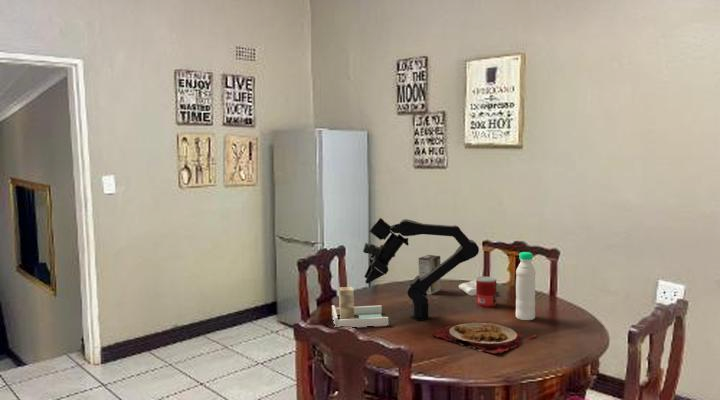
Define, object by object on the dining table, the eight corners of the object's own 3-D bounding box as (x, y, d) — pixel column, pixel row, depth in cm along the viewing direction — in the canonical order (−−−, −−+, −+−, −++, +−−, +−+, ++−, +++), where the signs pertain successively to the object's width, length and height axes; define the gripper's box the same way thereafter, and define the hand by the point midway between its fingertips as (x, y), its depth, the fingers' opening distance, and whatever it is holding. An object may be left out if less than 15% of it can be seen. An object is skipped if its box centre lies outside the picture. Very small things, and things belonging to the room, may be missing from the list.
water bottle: (536, 321, 197) (537, 254, 195) (516, 320, 199) (517, 254, 196) (533, 315, 204) (534, 251, 202) (514, 314, 206) (515, 250, 203)
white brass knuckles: (456, 288, 248) (485, 286, 251) (470, 298, 230) (502, 296, 233) (456, 281, 248) (486, 279, 250) (470, 291, 230) (502, 289, 233)
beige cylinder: (352, 318, 204) (352, 286, 203) (354, 322, 199) (353, 290, 198) (339, 319, 203) (339, 287, 202) (340, 323, 198) (340, 290, 197)
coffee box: (428, 288, 247) (428, 254, 246) (441, 290, 243) (440, 255, 242) (418, 292, 240) (418, 257, 239) (431, 294, 236) (430, 259, 235)
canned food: (498, 307, 216) (498, 280, 215) (478, 307, 216) (478, 280, 215) (493, 302, 223) (493, 276, 222) (474, 302, 223) (474, 276, 222)
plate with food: (498, 359, 164) (499, 348, 164) (430, 337, 183) (430, 327, 182) (537, 340, 181) (537, 329, 181) (471, 321, 200) (471, 312, 200)
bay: (381, 312, 211) (381, 302, 211) (388, 325, 195) (388, 315, 195) (332, 315, 208) (331, 305, 208) (335, 328, 193) (335, 317, 192)
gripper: (372, 231, 211) (348, 263, 212) (374, 238, 192) (348, 272, 193) (394, 248, 212) (371, 279, 212) (399, 256, 193) (373, 290, 194)
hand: (365, 280), depth 203 cm, fingers open, 9 cm apart
